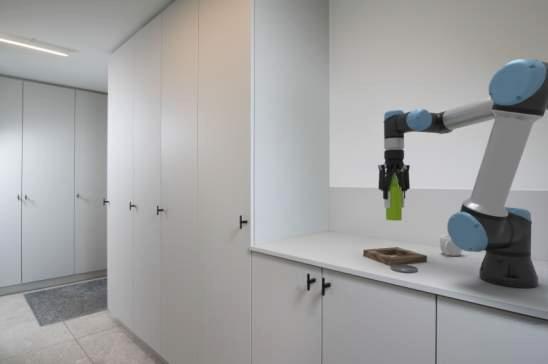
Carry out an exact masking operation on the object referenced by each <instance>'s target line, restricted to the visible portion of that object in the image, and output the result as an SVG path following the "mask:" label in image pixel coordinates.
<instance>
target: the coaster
mask: <svg viewBox="0 0 548 364" xmlns="http://www.w3.org/2000/svg"><path fill="white" fill-rule="evenodd" d="M390 270H391V271H394V272H397V273H401V274H402V273H403V274H414V273H417V272H418V271H419V269H418V267H416V266H413V265H411V264H404V265H402V264H397V265H392V266H390Z"/></svg>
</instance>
